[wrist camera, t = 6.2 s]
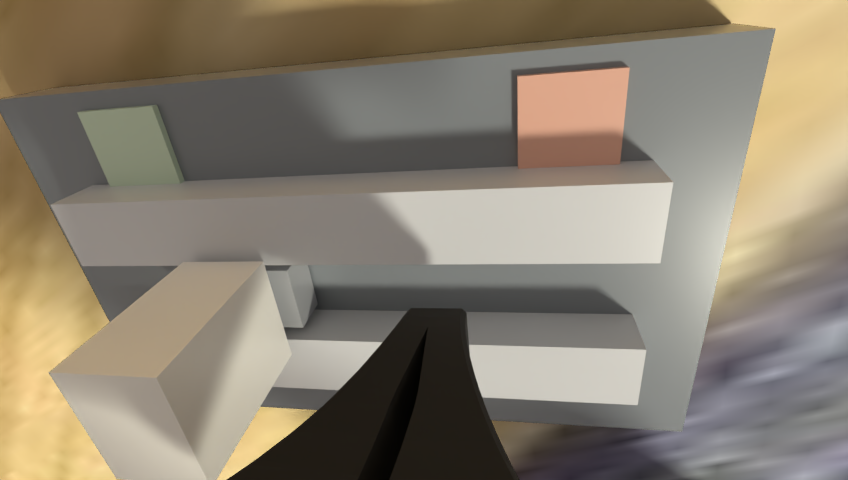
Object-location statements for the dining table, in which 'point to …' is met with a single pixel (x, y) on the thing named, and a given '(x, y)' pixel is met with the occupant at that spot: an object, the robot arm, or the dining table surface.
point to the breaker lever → (186, 367)
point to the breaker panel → (455, 131)
